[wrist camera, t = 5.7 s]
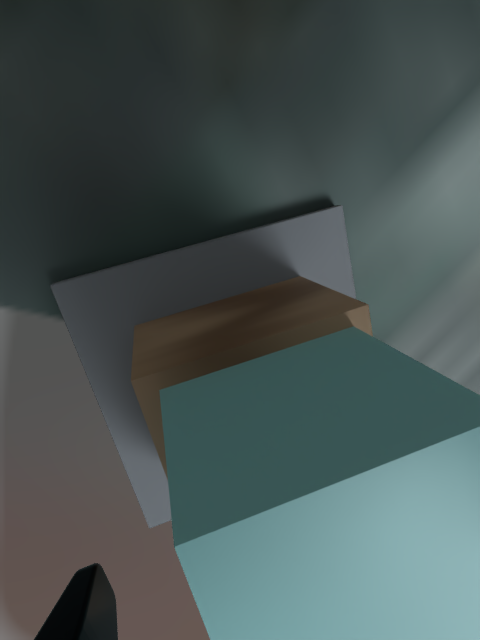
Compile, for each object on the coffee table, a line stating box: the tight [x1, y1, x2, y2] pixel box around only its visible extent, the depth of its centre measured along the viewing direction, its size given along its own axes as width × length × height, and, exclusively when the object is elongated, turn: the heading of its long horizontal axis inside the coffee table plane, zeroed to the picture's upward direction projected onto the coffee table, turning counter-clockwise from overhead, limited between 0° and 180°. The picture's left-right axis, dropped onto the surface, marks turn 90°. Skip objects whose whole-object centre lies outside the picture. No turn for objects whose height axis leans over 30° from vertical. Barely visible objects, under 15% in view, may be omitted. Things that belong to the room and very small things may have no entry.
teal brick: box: [159, 326, 480, 640], centre depth 8 cm, size 5×5×4 cm
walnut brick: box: [131, 276, 373, 480], centre depth 12 cm, size 6×6×4 cm
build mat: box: [50, 205, 356, 528], centre depth 15 cm, size 10×10×1 cm
